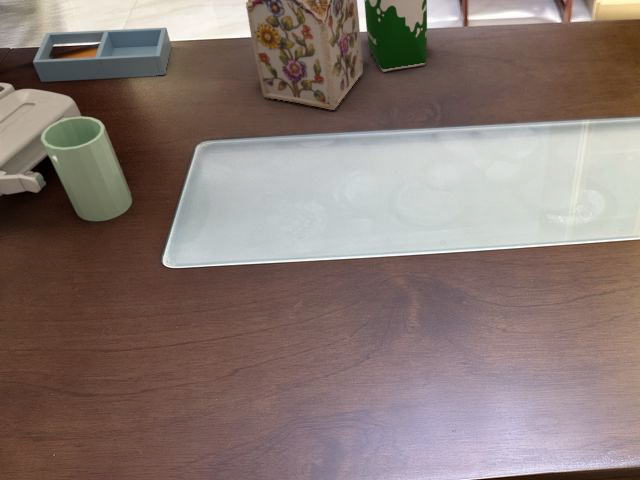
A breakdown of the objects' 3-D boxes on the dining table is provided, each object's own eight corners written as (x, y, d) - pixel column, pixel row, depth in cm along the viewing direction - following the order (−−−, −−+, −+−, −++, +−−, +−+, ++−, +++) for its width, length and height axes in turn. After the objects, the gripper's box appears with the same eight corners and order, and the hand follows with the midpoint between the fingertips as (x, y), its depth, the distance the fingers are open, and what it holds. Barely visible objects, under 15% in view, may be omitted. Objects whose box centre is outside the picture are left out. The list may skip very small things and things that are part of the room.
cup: (85, 228, 85) (51, 156, 78) (67, 200, 89) (33, 128, 81) (140, 208, 88) (112, 136, 81) (121, 181, 92) (92, 110, 84)
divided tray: (41, 82, 107) (32, 62, 104) (54, 52, 113) (46, 32, 110) (165, 75, 109) (159, 55, 107) (171, 46, 115) (166, 27, 113)
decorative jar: (335, 113, 103) (319, -17, 90) (261, 99, 105) (234, -30, 92) (365, 74, 111) (355, -52, 97) (296, 61, 113) (276, -64, 99)
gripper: (-117, 166, 78) (-7, 189, 76) (9, 75, 91) (106, 93, 89) (-85, 212, 83) (19, 235, 81) (31, 120, 96) (123, 137, 94)
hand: (66, 160), depth 85 cm, fingers open, 8 cm apart
